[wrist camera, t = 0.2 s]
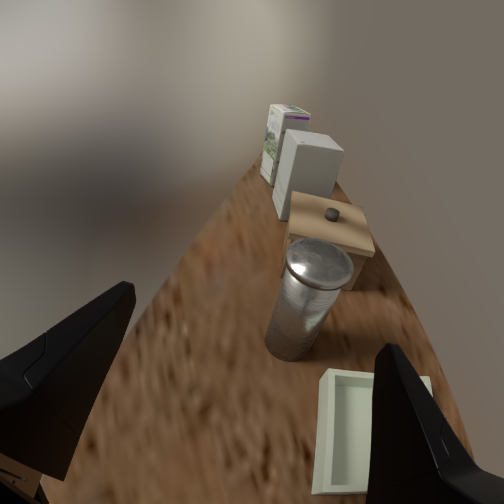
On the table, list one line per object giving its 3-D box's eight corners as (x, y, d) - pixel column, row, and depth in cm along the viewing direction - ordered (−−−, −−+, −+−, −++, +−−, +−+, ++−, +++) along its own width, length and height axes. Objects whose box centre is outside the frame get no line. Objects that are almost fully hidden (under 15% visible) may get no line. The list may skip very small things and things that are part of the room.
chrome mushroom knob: (311, 367, 26) (357, 290, 19) (258, 358, 27) (284, 276, 20) (312, 325, 30) (349, 245, 24) (265, 317, 31) (288, 232, 24)
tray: (424, 485, 16) (440, 480, 15) (311, 494, 17) (322, 492, 15) (416, 387, 25) (429, 376, 24) (319, 380, 25) (328, 368, 24)
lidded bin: (353, 293, 35) (378, 244, 30) (276, 278, 35) (291, 225, 30) (346, 245, 43) (364, 201, 38) (282, 231, 43) (294, 184, 38)
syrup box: (297, 186, 55) (314, 114, 46) (269, 187, 53) (283, 110, 44) (284, 173, 59) (298, 105, 50) (257, 173, 57) (269, 102, 48)
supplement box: (323, 224, 46) (346, 151, 38) (278, 221, 45) (295, 143, 37) (311, 200, 52) (329, 134, 44) (271, 196, 50) (285, 127, 42)
